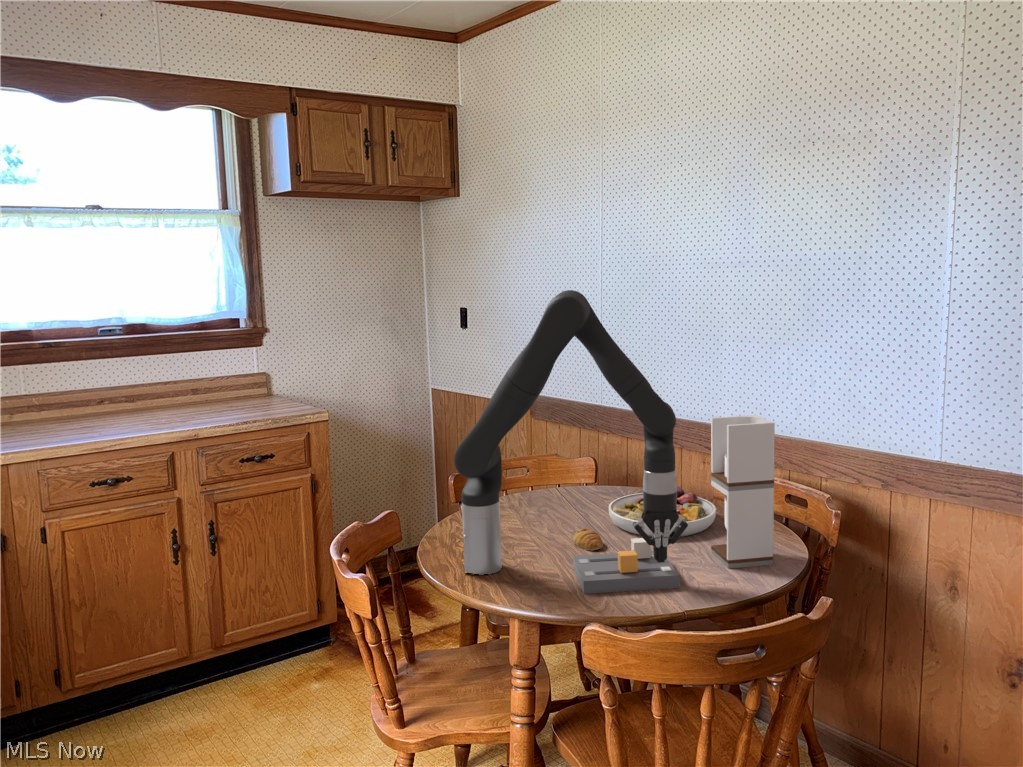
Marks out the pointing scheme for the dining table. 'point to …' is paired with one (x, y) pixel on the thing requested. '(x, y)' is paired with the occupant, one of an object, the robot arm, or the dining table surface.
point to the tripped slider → (627, 561)
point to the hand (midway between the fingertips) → (660, 561)
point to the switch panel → (622, 574)
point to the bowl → (688, 508)
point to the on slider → (641, 548)
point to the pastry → (587, 539)
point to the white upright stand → (744, 488)
